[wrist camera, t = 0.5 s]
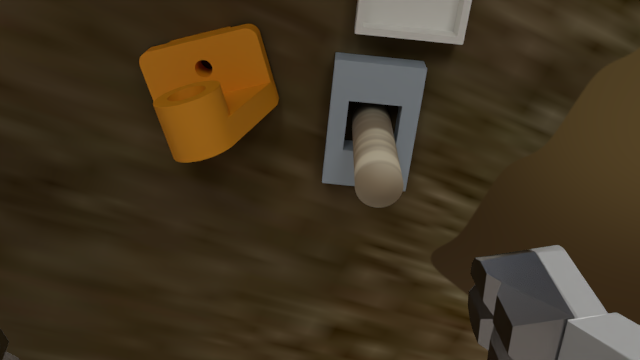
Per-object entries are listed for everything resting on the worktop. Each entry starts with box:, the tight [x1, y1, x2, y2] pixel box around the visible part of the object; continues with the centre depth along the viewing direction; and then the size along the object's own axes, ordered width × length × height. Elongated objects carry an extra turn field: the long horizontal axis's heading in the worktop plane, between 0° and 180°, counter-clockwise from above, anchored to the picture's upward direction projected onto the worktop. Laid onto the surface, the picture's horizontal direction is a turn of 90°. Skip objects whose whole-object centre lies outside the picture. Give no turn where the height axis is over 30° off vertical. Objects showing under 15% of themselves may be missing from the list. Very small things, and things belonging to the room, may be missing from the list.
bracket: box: [139, 24, 279, 163], centre depth 50 cm, size 11×7×12 cm, turn 104°
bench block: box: [322, 52, 427, 191], centre depth 56 cm, size 12×8×2 cm, turn 175°
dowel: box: [352, 102, 404, 208], centre depth 51 cm, size 4×4×14 cm
